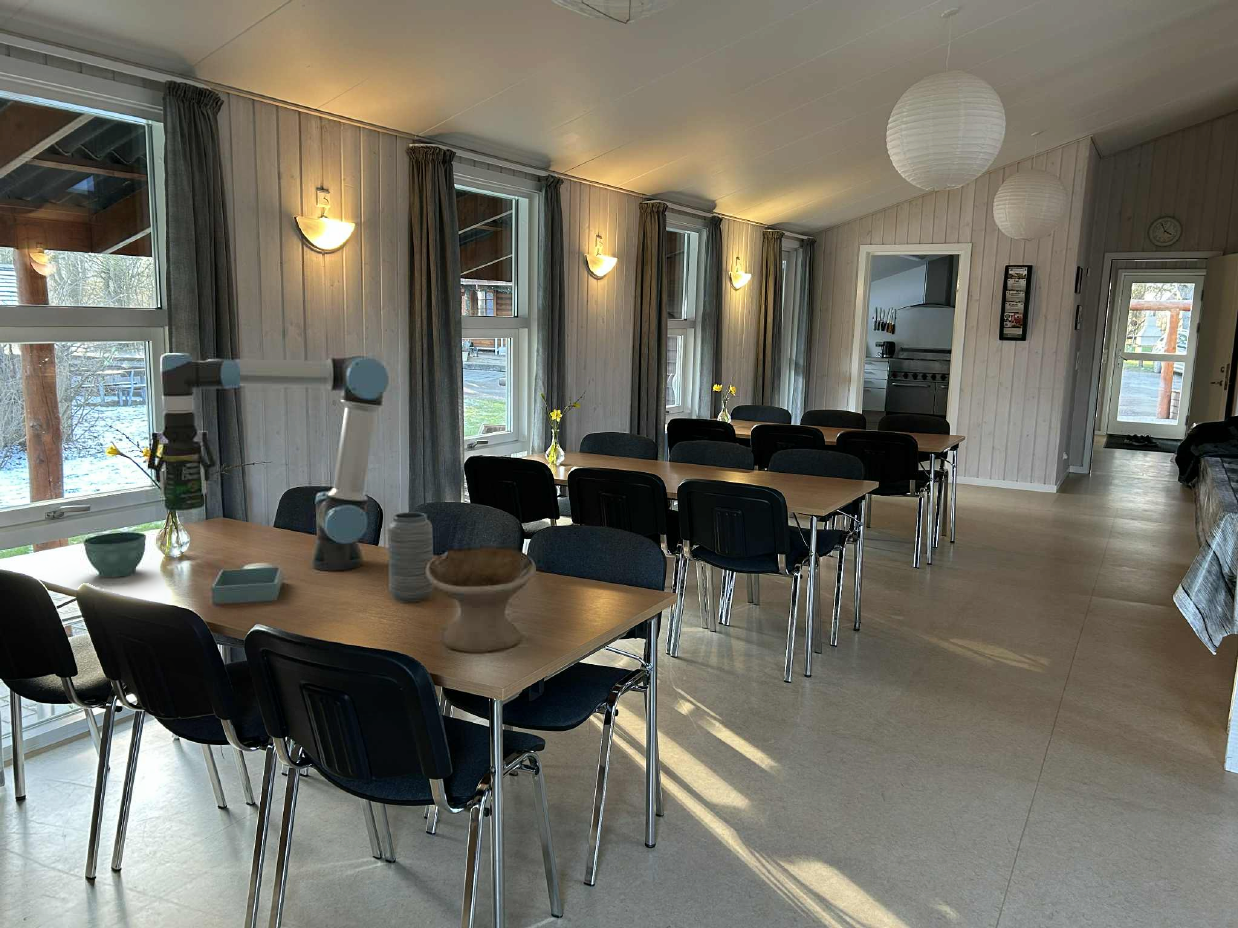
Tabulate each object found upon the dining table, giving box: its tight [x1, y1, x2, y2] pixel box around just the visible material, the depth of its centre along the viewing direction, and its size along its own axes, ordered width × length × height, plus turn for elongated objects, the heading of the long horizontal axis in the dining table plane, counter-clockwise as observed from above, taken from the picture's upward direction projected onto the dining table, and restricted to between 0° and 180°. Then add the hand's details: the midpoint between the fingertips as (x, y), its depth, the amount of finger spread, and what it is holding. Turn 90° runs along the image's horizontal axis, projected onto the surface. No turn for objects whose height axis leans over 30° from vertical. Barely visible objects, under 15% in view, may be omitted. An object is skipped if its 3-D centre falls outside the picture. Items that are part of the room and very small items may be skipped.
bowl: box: [426, 546, 537, 654], centre depth 219 cm, size 26×25×20 cm
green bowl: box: [82, 531, 147, 579], centre depth 273 cm, size 16×16×11 cm
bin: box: [211, 566, 283, 605], centre depth 256 cm, size 16×18×5 cm
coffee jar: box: [161, 440, 206, 512], centre depth 253 cm, size 10×8×19 cm
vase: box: [387, 511, 434, 604], centre depth 252 cm, size 12×12×23 cm
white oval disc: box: [242, 562, 274, 569], centre depth 272 cm, size 8×8×4 cm
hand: (184, 493), depth 254 cm, fingers closed on coffee jar, 9 cm apart
